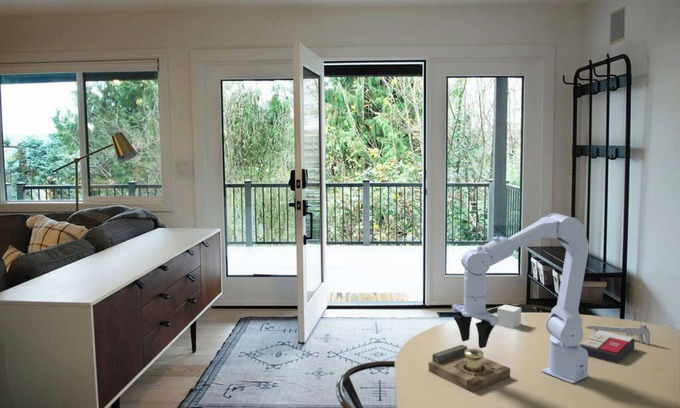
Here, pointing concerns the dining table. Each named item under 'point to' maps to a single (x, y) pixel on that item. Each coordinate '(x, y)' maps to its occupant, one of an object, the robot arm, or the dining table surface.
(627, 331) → the caliper
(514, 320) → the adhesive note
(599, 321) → the dining table surface
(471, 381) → the jig
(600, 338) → the printed card box
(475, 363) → the bushing
